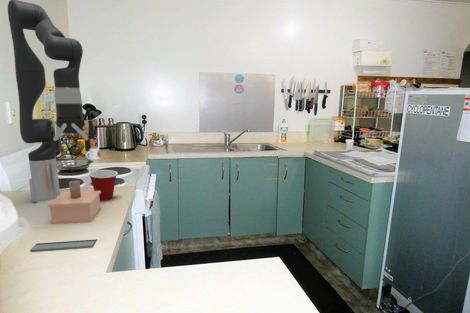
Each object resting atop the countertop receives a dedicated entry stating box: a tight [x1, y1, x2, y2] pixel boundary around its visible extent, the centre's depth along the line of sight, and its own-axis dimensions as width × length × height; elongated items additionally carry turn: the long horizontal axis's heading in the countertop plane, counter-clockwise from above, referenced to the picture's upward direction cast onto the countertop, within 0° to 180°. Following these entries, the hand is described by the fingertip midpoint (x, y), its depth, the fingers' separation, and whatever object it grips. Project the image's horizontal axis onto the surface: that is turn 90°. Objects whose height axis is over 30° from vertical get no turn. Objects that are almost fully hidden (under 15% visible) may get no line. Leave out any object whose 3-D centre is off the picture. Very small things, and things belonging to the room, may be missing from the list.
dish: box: [49, 195, 101, 225], centre depth 105 cm, size 12×12×7 cm
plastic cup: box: [88, 169, 118, 202], centre depth 122 cm, size 11×11×12 cm
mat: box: [30, 239, 98, 253], centre depth 90 cm, size 16×14×1 cm
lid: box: [46, 180, 101, 208], centre depth 103 cm, size 13×13×6 cm
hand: (73, 151), depth 100 cm, fingers open, 8 cm apart
